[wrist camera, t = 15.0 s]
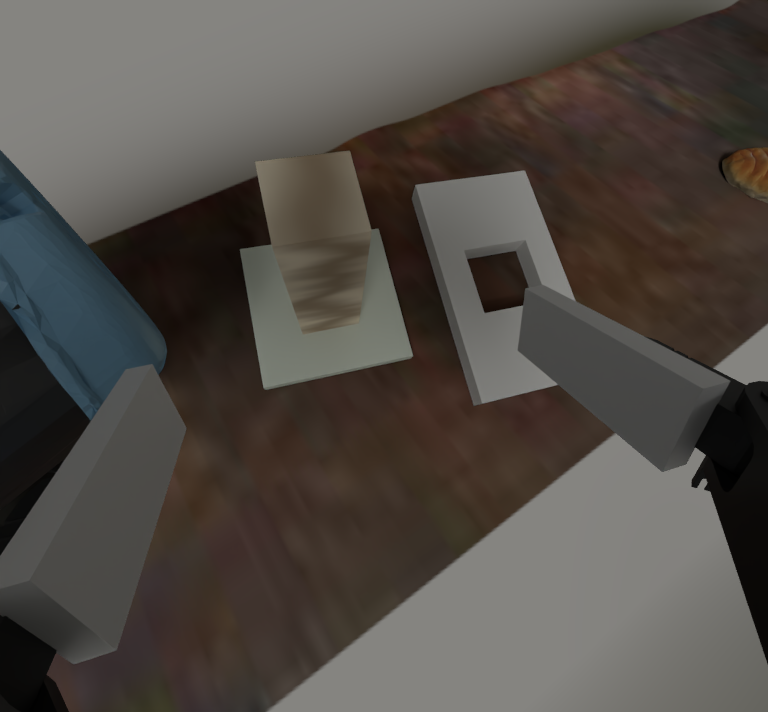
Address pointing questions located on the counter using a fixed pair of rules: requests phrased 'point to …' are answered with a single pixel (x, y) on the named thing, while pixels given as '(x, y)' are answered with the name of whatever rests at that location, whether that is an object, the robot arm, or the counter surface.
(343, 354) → the tile
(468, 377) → the plate with hole
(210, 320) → the counter surface
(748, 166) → the pastry
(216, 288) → the counter surface
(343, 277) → the peg
